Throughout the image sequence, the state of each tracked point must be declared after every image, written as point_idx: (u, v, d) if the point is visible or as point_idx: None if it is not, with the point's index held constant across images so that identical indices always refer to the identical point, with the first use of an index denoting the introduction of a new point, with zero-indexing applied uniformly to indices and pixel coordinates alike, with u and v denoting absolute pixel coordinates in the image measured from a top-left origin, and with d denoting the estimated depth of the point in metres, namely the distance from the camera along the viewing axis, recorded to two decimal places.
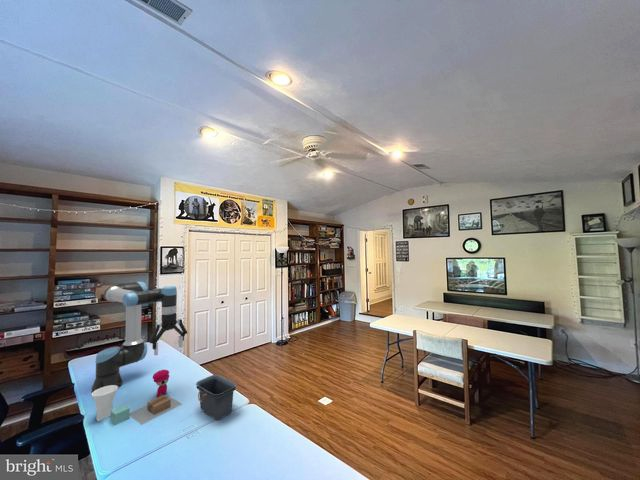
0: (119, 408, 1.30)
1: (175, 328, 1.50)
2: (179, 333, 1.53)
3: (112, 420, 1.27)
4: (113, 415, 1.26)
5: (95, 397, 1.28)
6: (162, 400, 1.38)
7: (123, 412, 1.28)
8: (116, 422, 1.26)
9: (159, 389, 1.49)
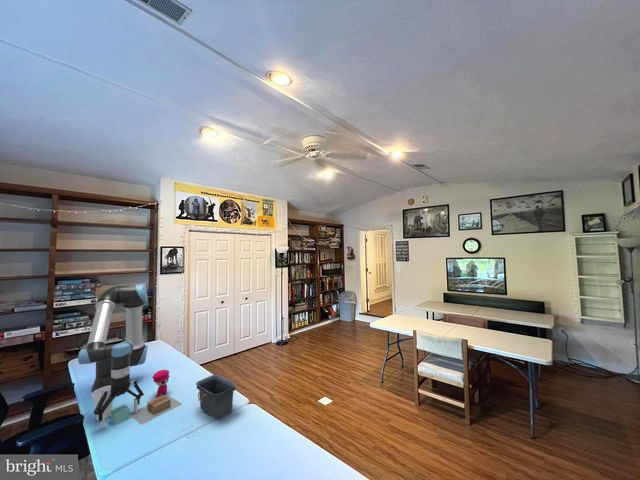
0: (119, 408, 1.30)
1: (128, 392, 1.31)
2: (134, 396, 1.35)
3: (112, 420, 1.27)
4: (113, 415, 1.26)
5: (95, 397, 1.28)
6: (162, 400, 1.38)
7: (123, 412, 1.28)
8: (116, 422, 1.26)
9: (159, 389, 1.49)
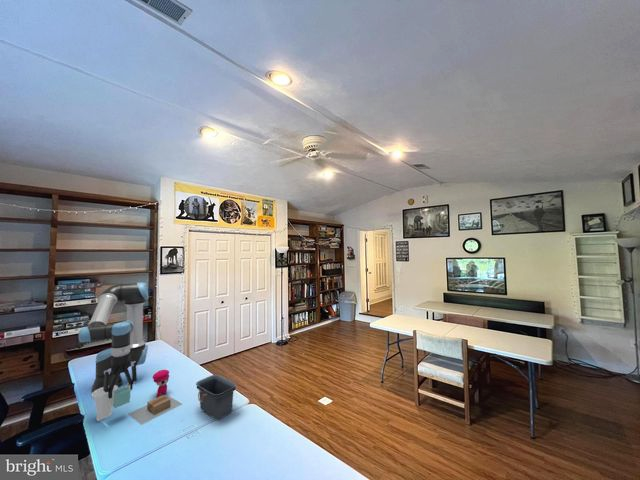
0: (120, 390, 1.31)
1: (126, 372, 1.31)
2: None
3: None
4: (114, 396, 1.27)
5: (95, 397, 1.28)
6: (162, 400, 1.38)
7: (124, 393, 1.29)
8: (117, 403, 1.26)
9: (159, 389, 1.49)
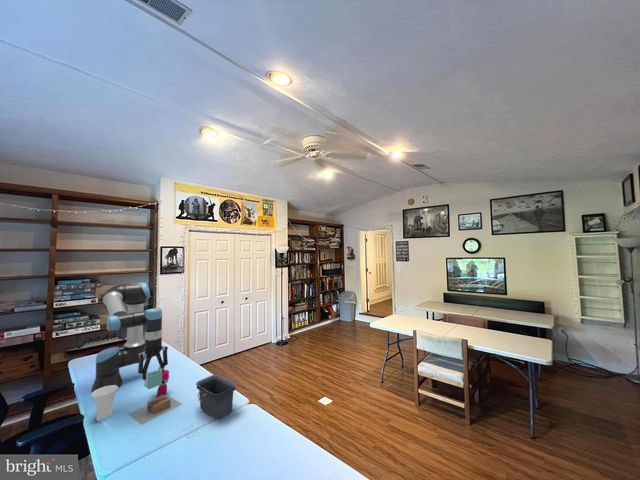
0: (152, 372, 1.38)
1: (158, 356, 1.38)
2: (159, 363, 1.40)
3: None
4: None
5: (95, 397, 1.28)
6: (162, 400, 1.38)
7: (156, 375, 1.35)
8: (150, 384, 1.33)
9: (159, 389, 1.49)
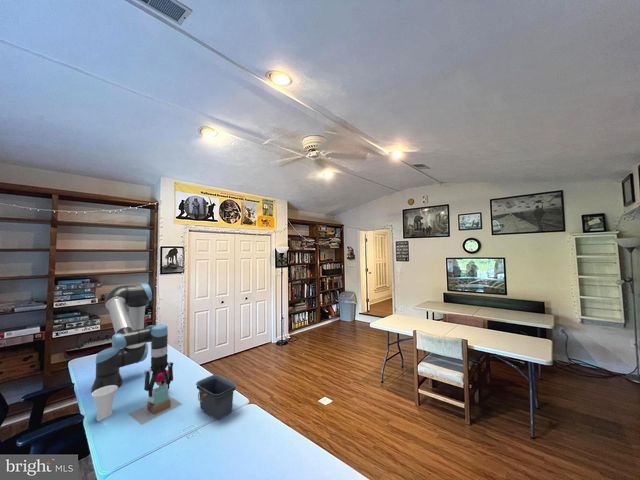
0: (158, 388, 1.39)
1: (164, 372, 1.39)
2: (165, 379, 1.41)
3: None
4: None
5: (95, 397, 1.28)
6: None
7: (162, 391, 1.37)
8: (156, 401, 1.34)
9: None
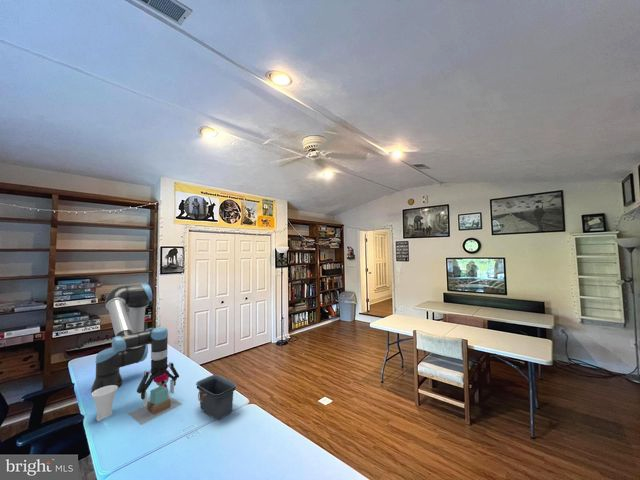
0: (158, 388, 1.39)
1: (166, 373, 1.40)
2: (170, 377, 1.44)
3: (152, 399, 1.36)
4: (153, 394, 1.35)
5: (95, 397, 1.28)
6: None
7: (162, 391, 1.37)
8: (156, 401, 1.34)
9: None
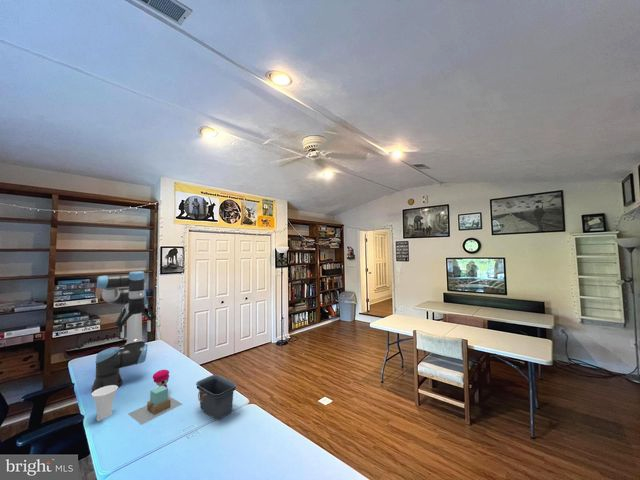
0: (158, 388, 1.39)
1: (142, 312, 1.53)
2: None
3: (152, 399, 1.36)
4: (153, 394, 1.35)
5: (95, 397, 1.28)
6: None
7: (162, 391, 1.37)
8: (156, 401, 1.34)
9: None
